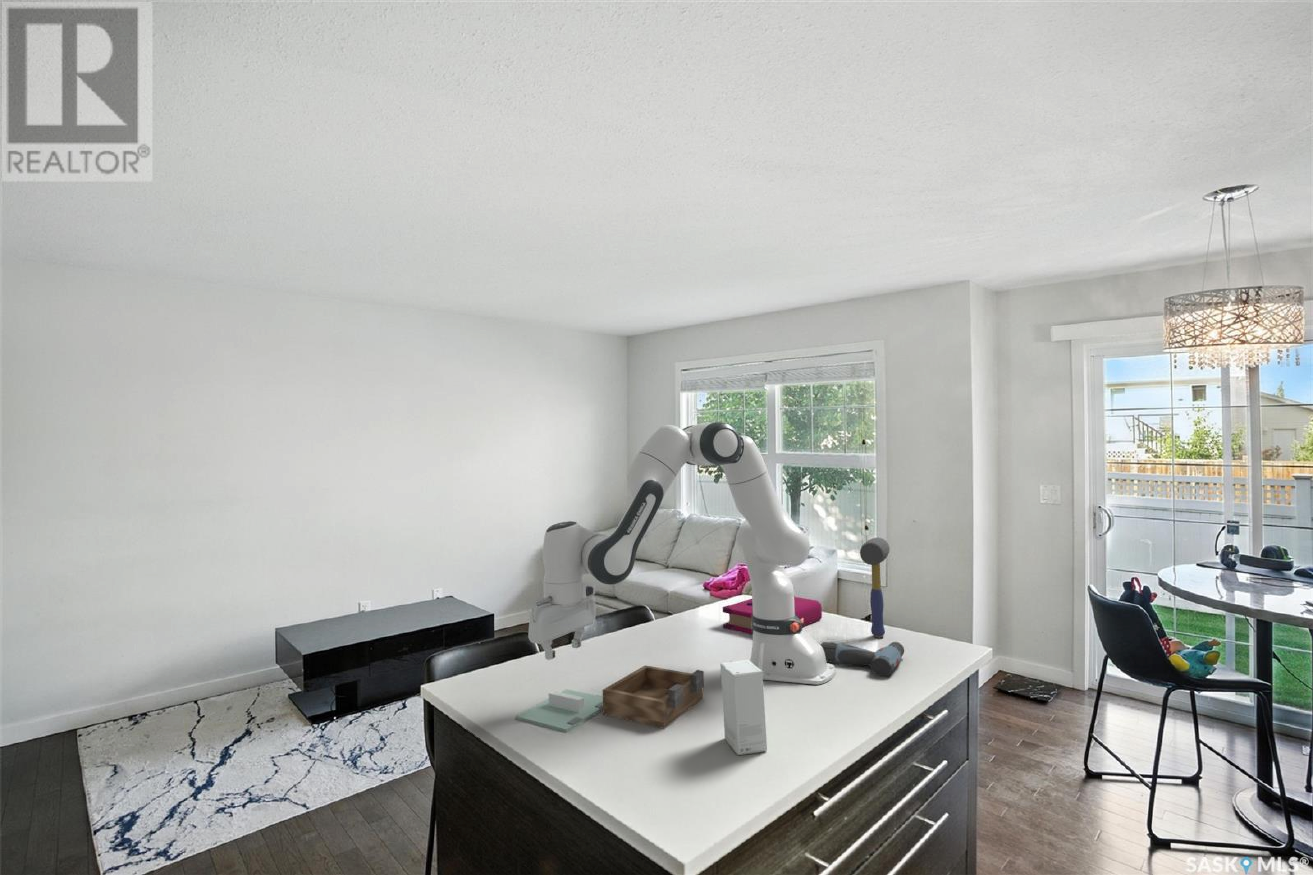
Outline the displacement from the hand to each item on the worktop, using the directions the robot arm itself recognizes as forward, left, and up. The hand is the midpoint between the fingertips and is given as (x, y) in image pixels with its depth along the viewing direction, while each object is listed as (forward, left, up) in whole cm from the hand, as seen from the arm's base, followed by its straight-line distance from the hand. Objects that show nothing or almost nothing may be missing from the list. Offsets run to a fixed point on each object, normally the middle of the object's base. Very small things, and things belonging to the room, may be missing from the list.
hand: (563, 652), depth 147 cm
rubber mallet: (-51, -87, -13) cm, 102 cm away
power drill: (-52, -63, -14) cm, 83 cm away
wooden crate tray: (-17, -11, -13) cm, 24 cm away
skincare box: (-43, -3, -13) cm, 45 cm away
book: (-17, -87, -14) cm, 90 cm away
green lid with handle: (0, 0, -14) cm, 14 cm away
